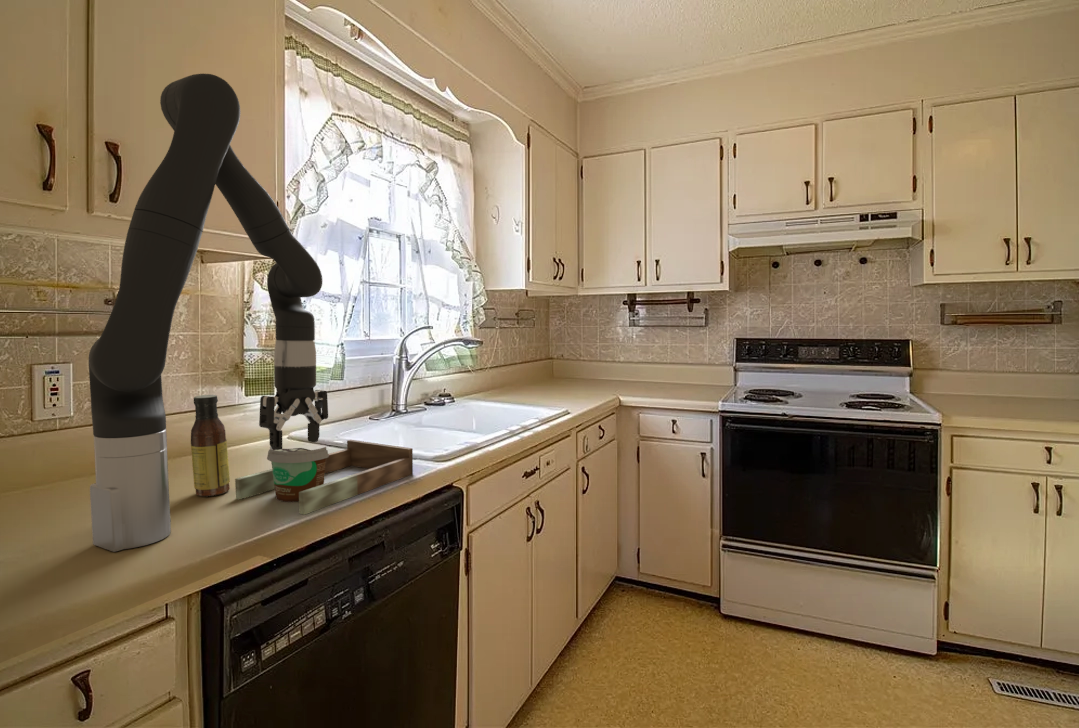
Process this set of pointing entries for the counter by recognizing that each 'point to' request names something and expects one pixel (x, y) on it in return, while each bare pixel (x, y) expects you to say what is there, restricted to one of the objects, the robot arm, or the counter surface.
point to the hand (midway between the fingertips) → (295, 445)
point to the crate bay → (382, 470)
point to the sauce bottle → (209, 449)
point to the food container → (296, 471)
